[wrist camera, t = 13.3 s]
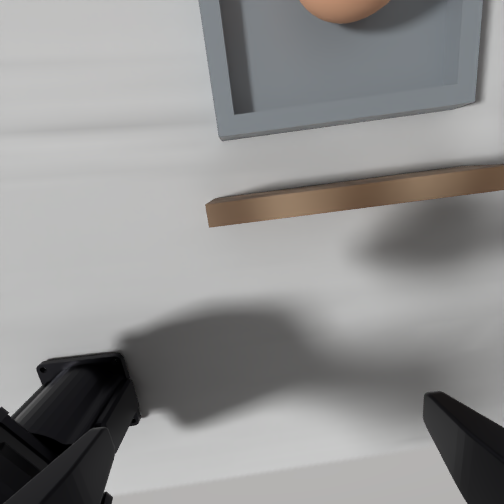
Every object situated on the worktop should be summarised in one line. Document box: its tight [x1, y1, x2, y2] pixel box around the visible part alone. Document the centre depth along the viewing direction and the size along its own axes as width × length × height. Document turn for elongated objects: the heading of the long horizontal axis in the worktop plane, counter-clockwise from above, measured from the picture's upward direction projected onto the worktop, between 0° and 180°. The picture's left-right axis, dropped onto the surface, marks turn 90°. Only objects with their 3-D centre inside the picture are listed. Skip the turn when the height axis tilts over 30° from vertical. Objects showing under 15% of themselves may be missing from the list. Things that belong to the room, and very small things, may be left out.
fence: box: [205, 164, 504, 228], centre depth 16 cm, size 16×1×4 cm, turn 97°
